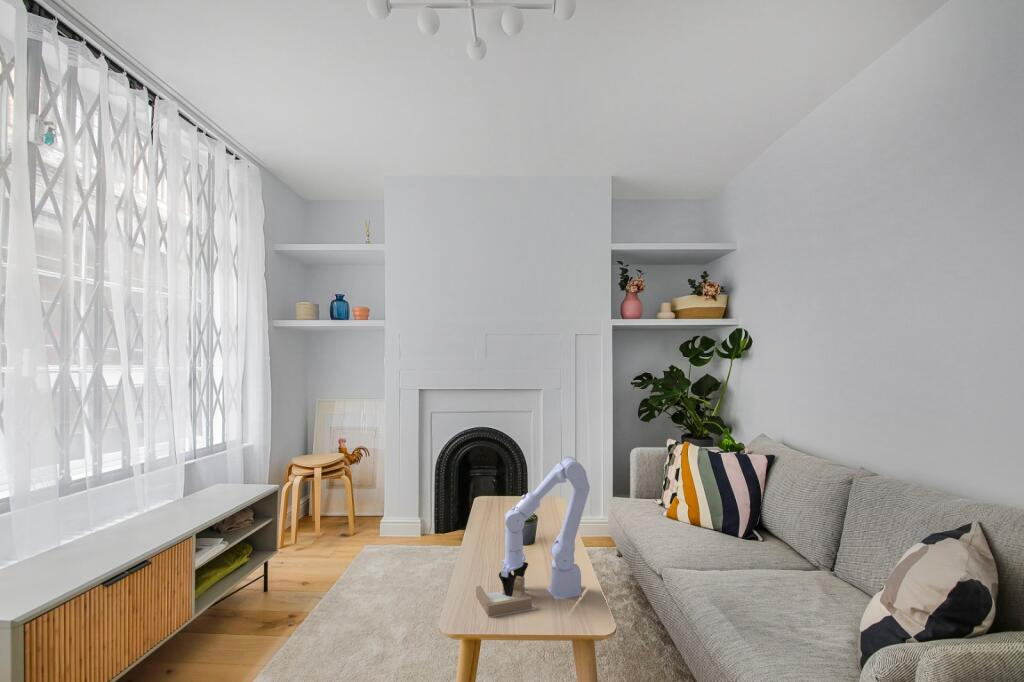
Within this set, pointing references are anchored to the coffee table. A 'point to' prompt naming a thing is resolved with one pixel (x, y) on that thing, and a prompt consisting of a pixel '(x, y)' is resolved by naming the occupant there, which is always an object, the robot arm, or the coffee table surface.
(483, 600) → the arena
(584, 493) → the robot arm
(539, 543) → the coffee table surface
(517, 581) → the oak block
